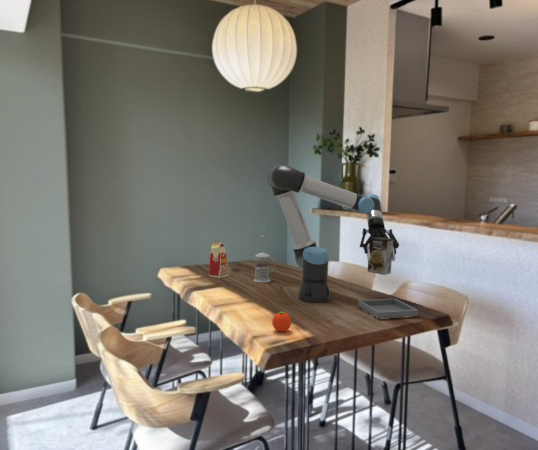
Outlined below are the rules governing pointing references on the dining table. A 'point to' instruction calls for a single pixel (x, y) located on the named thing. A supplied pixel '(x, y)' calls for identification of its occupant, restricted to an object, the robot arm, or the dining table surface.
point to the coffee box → (380, 255)
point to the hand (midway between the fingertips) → (381, 259)
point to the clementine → (281, 322)
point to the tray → (387, 308)
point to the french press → (260, 266)
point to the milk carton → (218, 261)
